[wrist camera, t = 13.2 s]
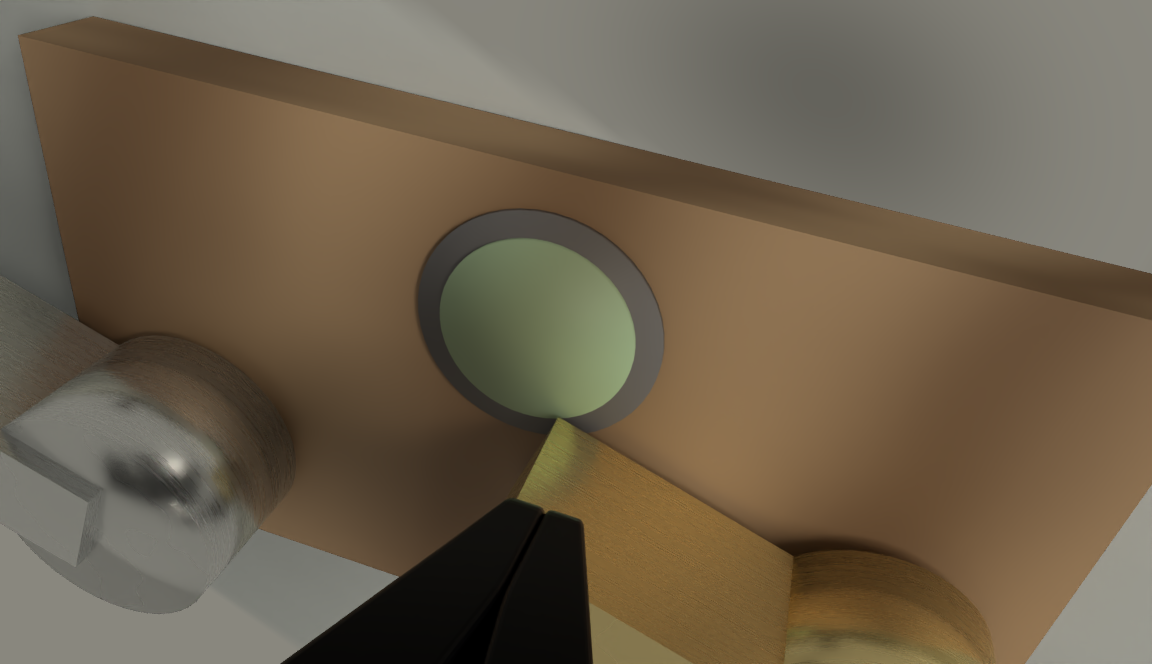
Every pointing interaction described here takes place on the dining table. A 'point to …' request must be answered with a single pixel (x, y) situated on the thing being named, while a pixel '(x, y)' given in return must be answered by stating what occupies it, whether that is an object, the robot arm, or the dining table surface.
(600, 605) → the brass lever
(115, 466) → the steel lever handle
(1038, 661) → the dining table surface
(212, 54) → the copper base
